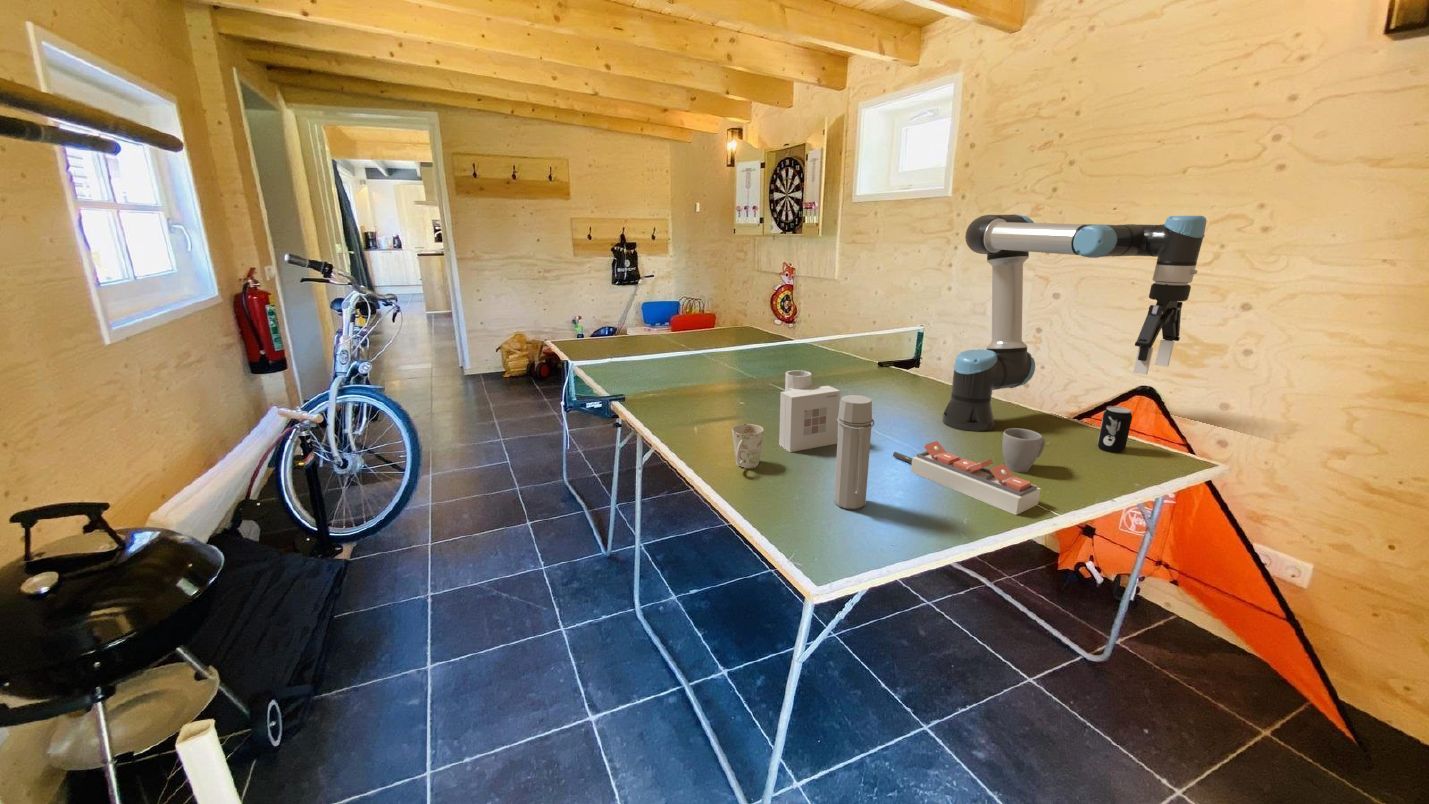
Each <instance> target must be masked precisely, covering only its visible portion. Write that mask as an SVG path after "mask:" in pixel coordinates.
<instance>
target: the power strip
mask: <svg viewBox="0 0 1429 804" xmlns="http://www.w3.org/2000/svg"><path fill="white" fill-rule="evenodd" d="M892 457H894V458H897V459H900V460H901V461H904V462H905V463H909V464H911V466H910V473H912V474H915V475H916V476H919V477H922V478H924V479H927V480H929V481H932V482H934V483H937V484H939V485H941V486H944V487H945V488H948V489H951V490H954V491H956V492H958V493H960V494H963V495H965V496H967V497H968V496H969V497H970V498H973V499H976V500H978V501H981V502H983V503H985V504H987V505H990V506H992V507H995V508H997V509H1000V510H1003V511H1004V512H1006V513H1010V514H1012V515H1014V516H1017V515H1019V514H1022V513H1023V512H1025V511H1027V510H1029V509H1031V508H1034V507H1035V506H1037V505H1039V500H1040V496H1041V494H1040V493H1041V488H1040V487H1038V486H1037V485H1036V484H1032V483H1031V486H1030V487H1029V488H1026V489H1024V490H1022V491H1020V492H1019V491H1017V490H1014V489H1011V488H1009V487H1006V486H1003V485H1001V484H1000V483H998V482H999V481H998V480H997V479H996V477H995V476H994V475H993V474H992V473H991V471H990V469H989V468H987V467H983V468H982V469H980V470H977V471H975V472H972V473H968V472H965V471H963V470H960V469H958V468H955V467H953V463H952V464H950V465H947V464H944V463H942V462H939V461H936V460H934V459H932V458H931V457H932V456H931V455H930V454H929V453H928V451H927V450H926V451H924V452H920V453H917V454H916V456H913V457H910V456H907V455H905V454H902V453H900V452H897V451H894V452H893V454H892ZM959 460H962V459H961V458H959Z"/></svg>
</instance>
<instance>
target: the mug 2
mask: <svg viewBox="0 0 1429 804" xmlns="http://www.w3.org/2000/svg"><path fill="white" fill-rule="evenodd" d="M1045 445H1046V441H1045V438H1044V437H1043V436H1042V434H1040V433H1039V432H1037V431H1034V430H1031V429H1026V428H1017V427H1013V428H1011V427H1010V428H1006V429H1005V430H1004V431H1003V434H1002V442H1001V446H1002V447H1001V449H1002V457H1003V460H1004V464H1005V466H1006V467H1007V468H1008V469H1009V470H1010V471H1011V472H1016V473H1028V472H1029V471H1030V469H1031V467H1032V466H1033V465H1034V463H1035V461H1037V459H1038V458H1040V456H1041V455H1042V454H1043V451H1044V450H1045Z"/></svg>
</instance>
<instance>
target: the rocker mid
mask: <svg viewBox="0 0 1429 804" xmlns="http://www.w3.org/2000/svg"><path fill="white" fill-rule="evenodd" d="M993 464H994V462H993V460H992V459H988V460H985V461H981V462H975V461H971V460H970V459H968V458H967V459H966V458H963V459H961V460H959V461H956V462H954V463H953V467H955V468H958V469H960V470H963V471H965V472H968V473H972V472H975V471H977V470H980V469H982V468H983V467H984V468H987V467H988V466H991V465H993Z"/></svg>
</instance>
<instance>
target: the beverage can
mask: <svg viewBox="0 0 1429 804" xmlns="http://www.w3.org/2000/svg"><path fill="white" fill-rule="evenodd" d="M1132 420H1133V414H1132V409H1129V407H1128V408H1127V407H1123V406H1118V405H1117V406H1116V405H1113V406H1112V405H1109V406H1106V409H1105V410H1104V411H1103V414H1102V419H1101V423H1100V424H1101V425H1100V428H1099V434H1098V438H1097V443H1096V445H1097V447H1098V449H1099V450H1101V451H1104V452H1107V453H1110V454H1111V453H1114V454H1119V453H1123V452H1124V451H1125V450H1126V448H1127V442H1128V437H1129V433H1130V429H1131V424H1132Z"/></svg>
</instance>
